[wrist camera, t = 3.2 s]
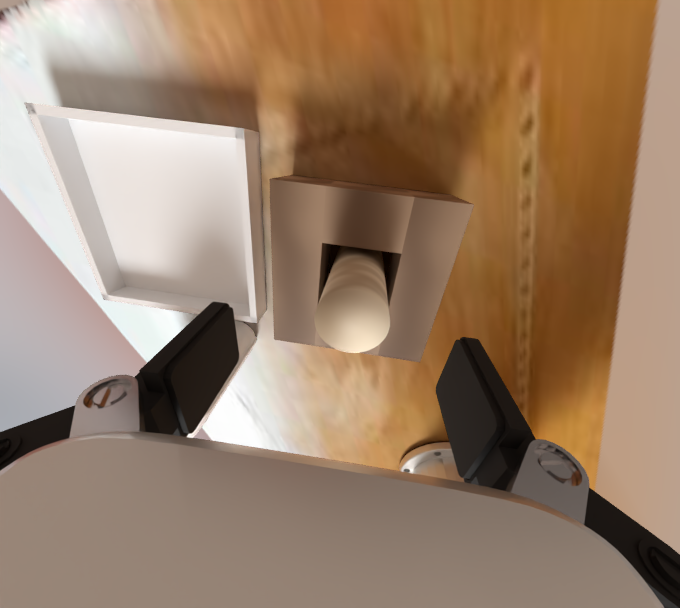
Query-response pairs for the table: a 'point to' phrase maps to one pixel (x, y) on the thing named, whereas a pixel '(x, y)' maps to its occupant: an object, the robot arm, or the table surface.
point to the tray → (162, 207)
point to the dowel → (354, 302)
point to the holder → (369, 233)
